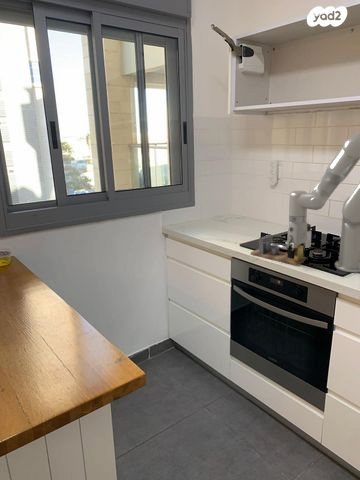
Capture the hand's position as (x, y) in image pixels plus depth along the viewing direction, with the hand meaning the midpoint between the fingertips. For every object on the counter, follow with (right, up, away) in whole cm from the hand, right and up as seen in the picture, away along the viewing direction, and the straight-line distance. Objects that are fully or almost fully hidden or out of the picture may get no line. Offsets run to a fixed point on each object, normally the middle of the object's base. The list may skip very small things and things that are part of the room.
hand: (296, 255), depth 164 cm
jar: (+9, +3, +20) cm, 22 cm away
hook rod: (-4, 0, +5) cm, 6 cm away
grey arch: (-11, 0, +13) cm, 17 cm away
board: (-6, -1, +8) cm, 10 cm away
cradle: (-7, -1, +9) cm, 11 cm away
